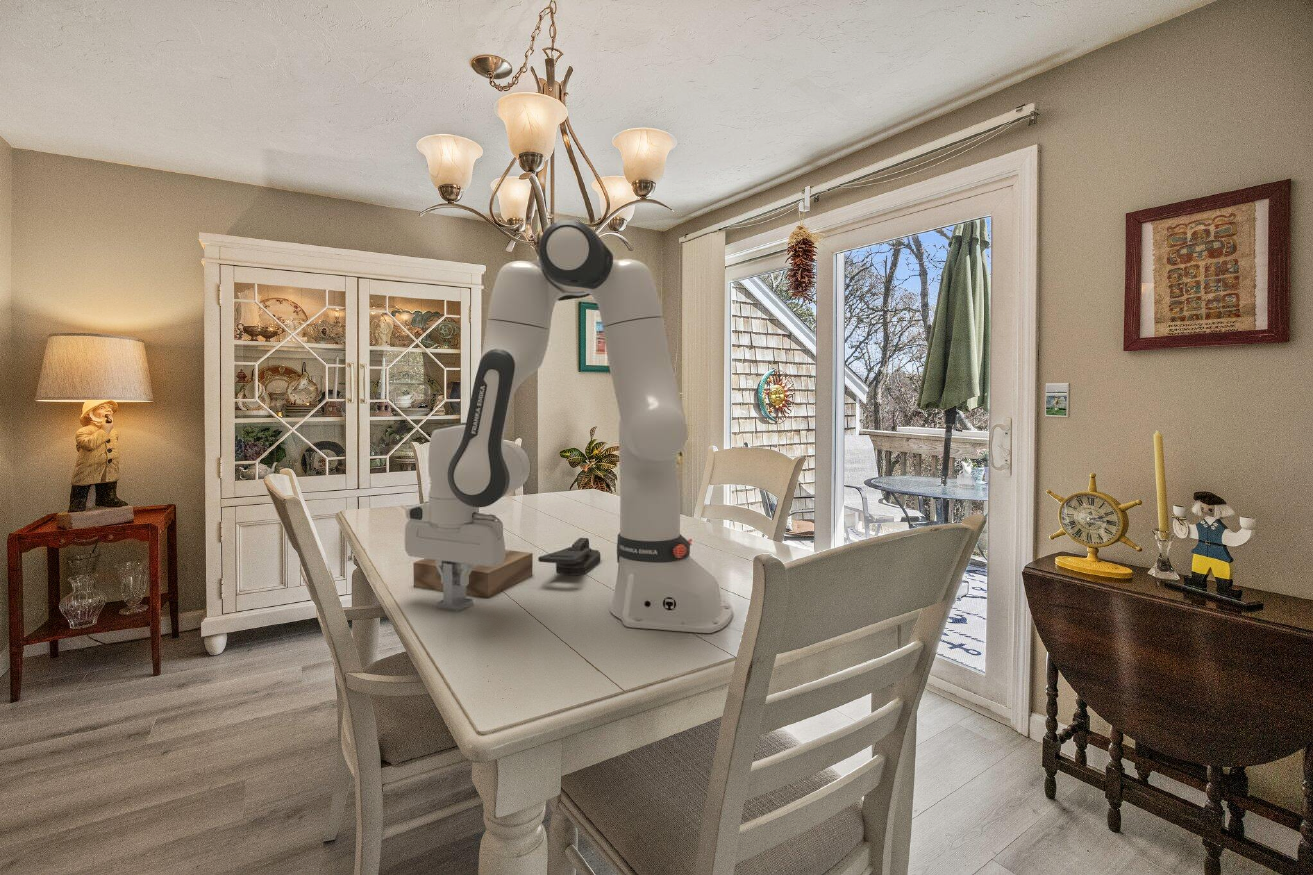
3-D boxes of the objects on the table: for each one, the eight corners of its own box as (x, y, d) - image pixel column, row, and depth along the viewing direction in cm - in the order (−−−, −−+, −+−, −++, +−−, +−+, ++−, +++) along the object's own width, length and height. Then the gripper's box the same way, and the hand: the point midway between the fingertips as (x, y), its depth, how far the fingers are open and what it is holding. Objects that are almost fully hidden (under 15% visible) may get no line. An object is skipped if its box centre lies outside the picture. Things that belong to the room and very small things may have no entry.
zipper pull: (534, 557, 124) (567, 530, 149) (534, 589, 124) (567, 556, 149) (577, 559, 123) (603, 531, 147) (576, 591, 123) (603, 558, 148)
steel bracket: (473, 604, 114) (472, 560, 114) (459, 611, 111) (458, 565, 110) (451, 600, 116) (450, 557, 116) (436, 607, 112) (436, 562, 112)
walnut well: (532, 575, 133) (532, 553, 133) (488, 598, 118) (488, 572, 118) (464, 566, 139) (463, 544, 139) (413, 586, 124) (413, 562, 124)
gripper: (512, 512, 112) (512, 586, 113) (422, 503, 119) (423, 573, 120) (491, 518, 106) (492, 596, 107) (398, 509, 113) (399, 582, 114)
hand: (454, 584), depth 113 cm, fingers closed on steel bracket, 2 cm apart
